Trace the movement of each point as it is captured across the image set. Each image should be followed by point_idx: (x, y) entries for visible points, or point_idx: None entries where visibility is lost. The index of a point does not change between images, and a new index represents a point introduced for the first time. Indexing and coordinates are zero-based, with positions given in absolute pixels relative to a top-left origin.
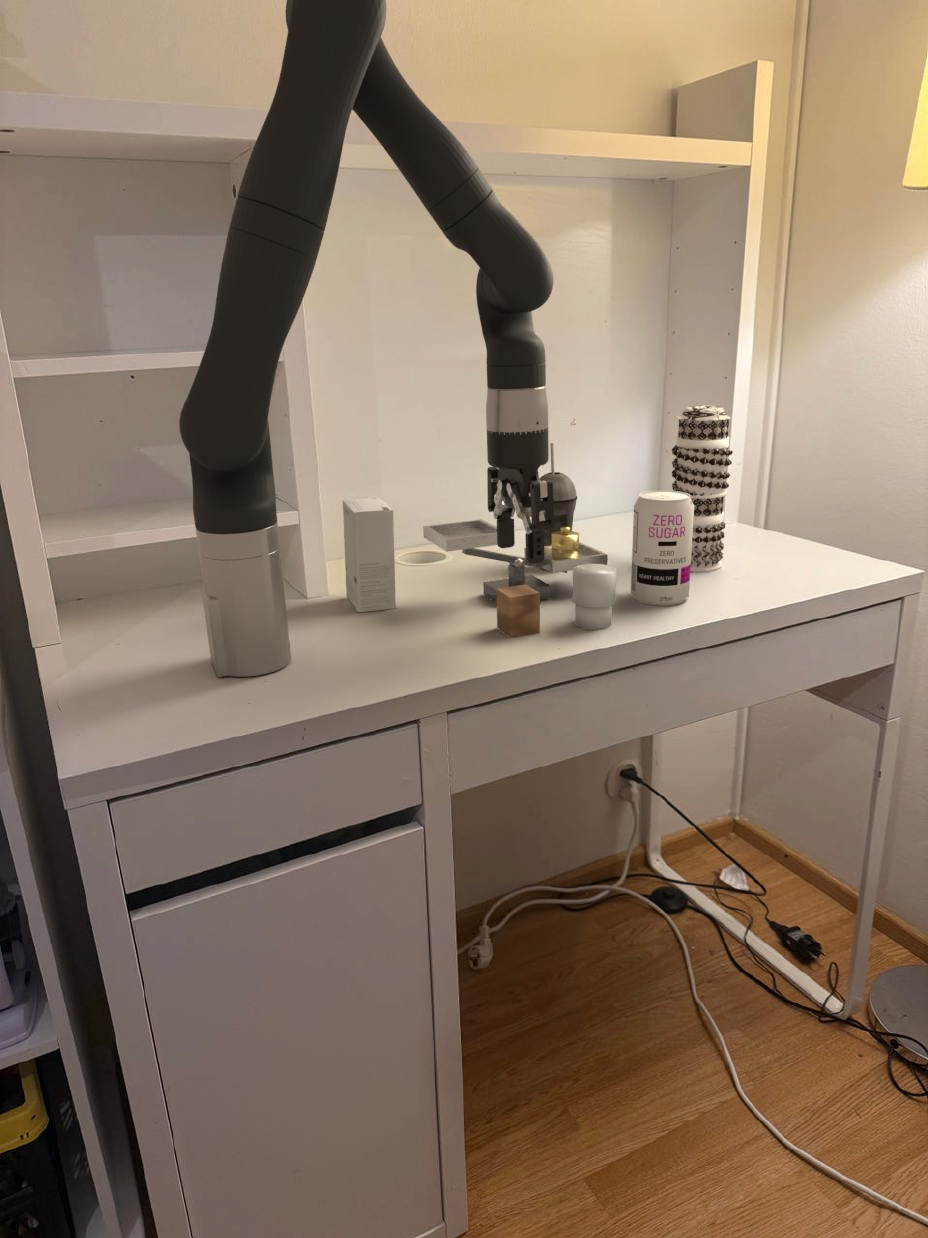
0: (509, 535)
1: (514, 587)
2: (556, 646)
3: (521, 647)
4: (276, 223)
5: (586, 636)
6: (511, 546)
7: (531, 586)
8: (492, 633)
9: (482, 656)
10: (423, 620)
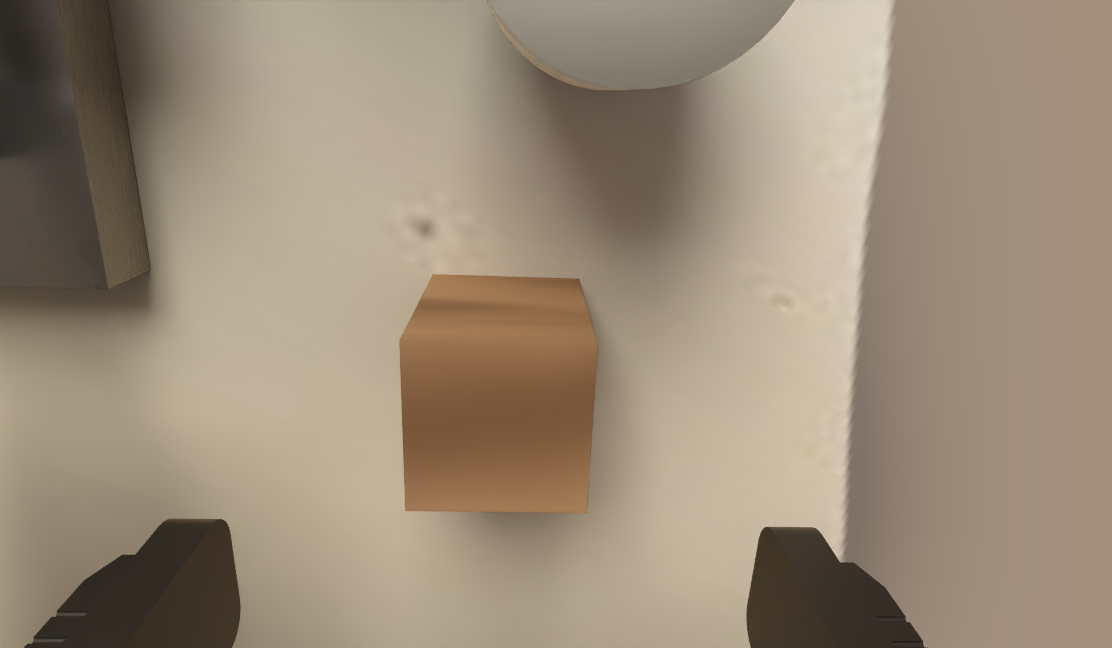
0: (176, 628)
1: (425, 419)
2: (754, 295)
3: (685, 417)
4: None
5: (728, 114)
6: (230, 537)
7: (28, 61)
8: None
9: (686, 564)
10: None
